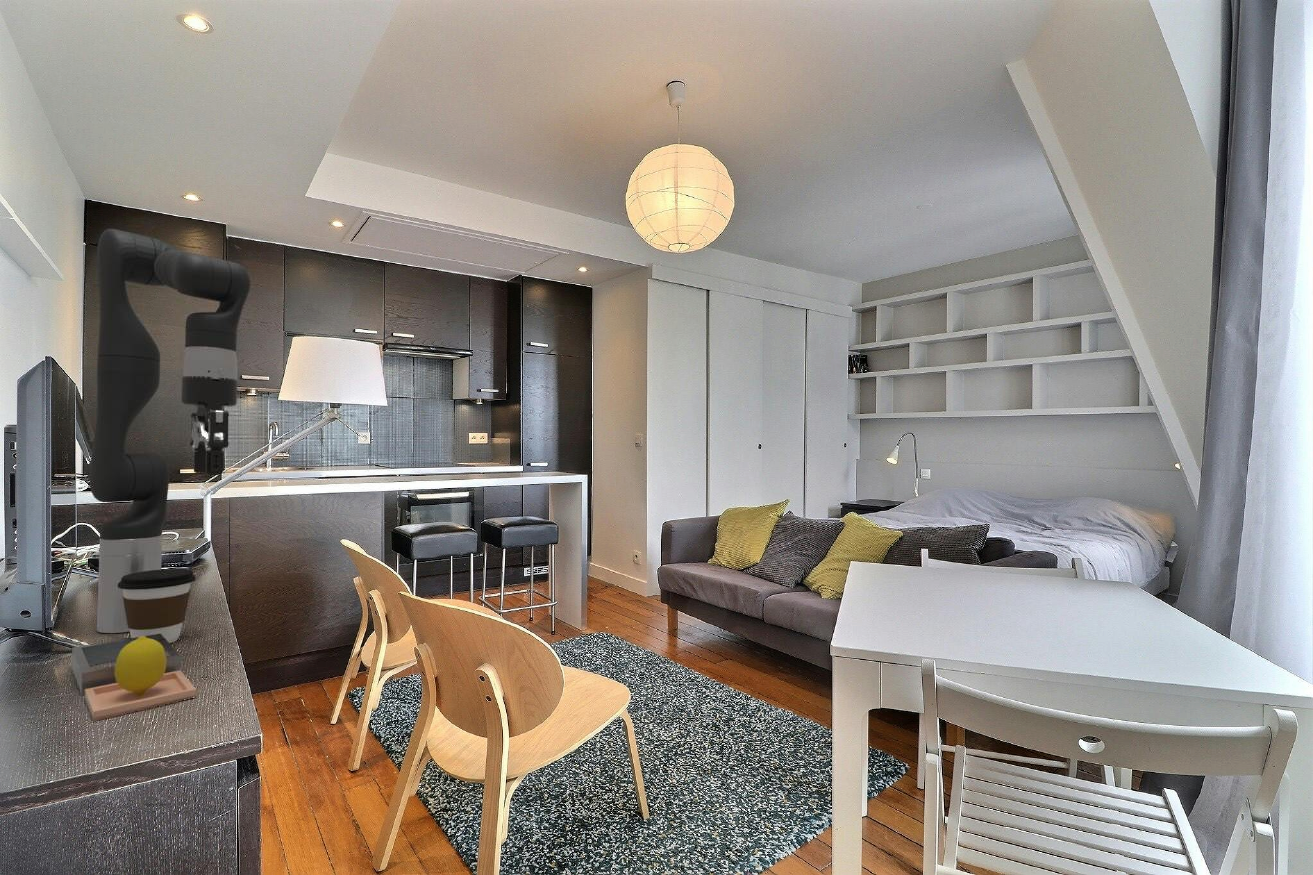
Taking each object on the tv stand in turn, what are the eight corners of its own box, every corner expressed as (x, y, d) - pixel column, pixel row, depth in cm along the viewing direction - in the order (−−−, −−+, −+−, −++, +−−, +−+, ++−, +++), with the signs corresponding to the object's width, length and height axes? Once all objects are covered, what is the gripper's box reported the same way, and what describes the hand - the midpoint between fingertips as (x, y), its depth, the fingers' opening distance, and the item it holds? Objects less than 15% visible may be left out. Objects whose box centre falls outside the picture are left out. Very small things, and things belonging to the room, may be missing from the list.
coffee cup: (184, 647, 108) (185, 577, 109) (104, 654, 104) (106, 582, 105) (202, 630, 119) (203, 566, 119) (130, 636, 114) (132, 570, 115)
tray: (84, 698, 86) (84, 689, 86) (180, 678, 94) (180, 670, 94) (93, 721, 79) (93, 711, 79) (195, 697, 87) (196, 689, 87)
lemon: (136, 704, 83) (138, 643, 84) (102, 700, 84) (104, 640, 85) (176, 689, 89) (177, 632, 89) (144, 685, 90) (145, 629, 90)
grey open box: (71, 667, 98) (71, 647, 98) (160, 651, 106) (160, 633, 106) (81, 695, 87) (82, 673, 87) (179, 675, 95) (180, 655, 95)
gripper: (173, 378, 107) (171, 473, 107) (192, 371, 97) (189, 476, 97) (226, 381, 113) (223, 472, 112) (248, 375, 103) (245, 475, 103)
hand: (207, 474), depth 105 cm, fingers open, 8 cm apart
